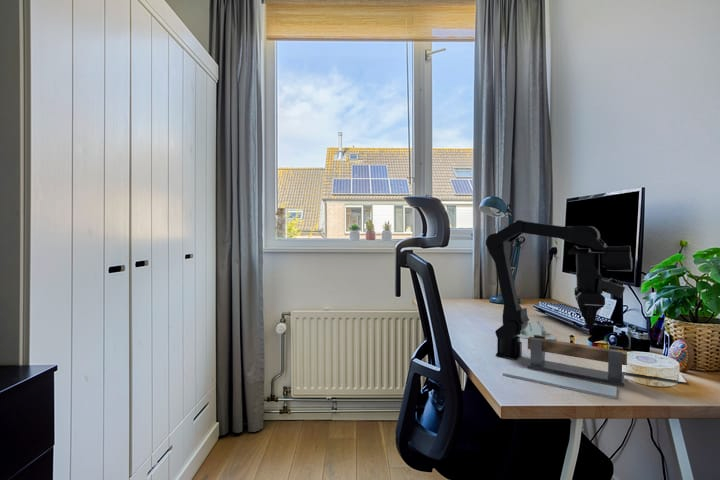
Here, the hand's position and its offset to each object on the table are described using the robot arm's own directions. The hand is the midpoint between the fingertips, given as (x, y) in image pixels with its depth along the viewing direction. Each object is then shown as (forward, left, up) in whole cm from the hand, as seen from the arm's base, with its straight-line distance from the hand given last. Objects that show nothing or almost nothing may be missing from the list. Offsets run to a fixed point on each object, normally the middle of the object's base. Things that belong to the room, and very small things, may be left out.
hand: (589, 325), depth 108 cm
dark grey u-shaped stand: (-3, -3, -13) cm, 14 cm away
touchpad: (+14, +8, -14) cm, 21 cm away
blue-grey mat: (-6, -13, -13) cm, 20 cm away
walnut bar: (-3, -3, -8) cm, 9 cm away
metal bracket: (-22, +33, -14) cm, 42 cm away
